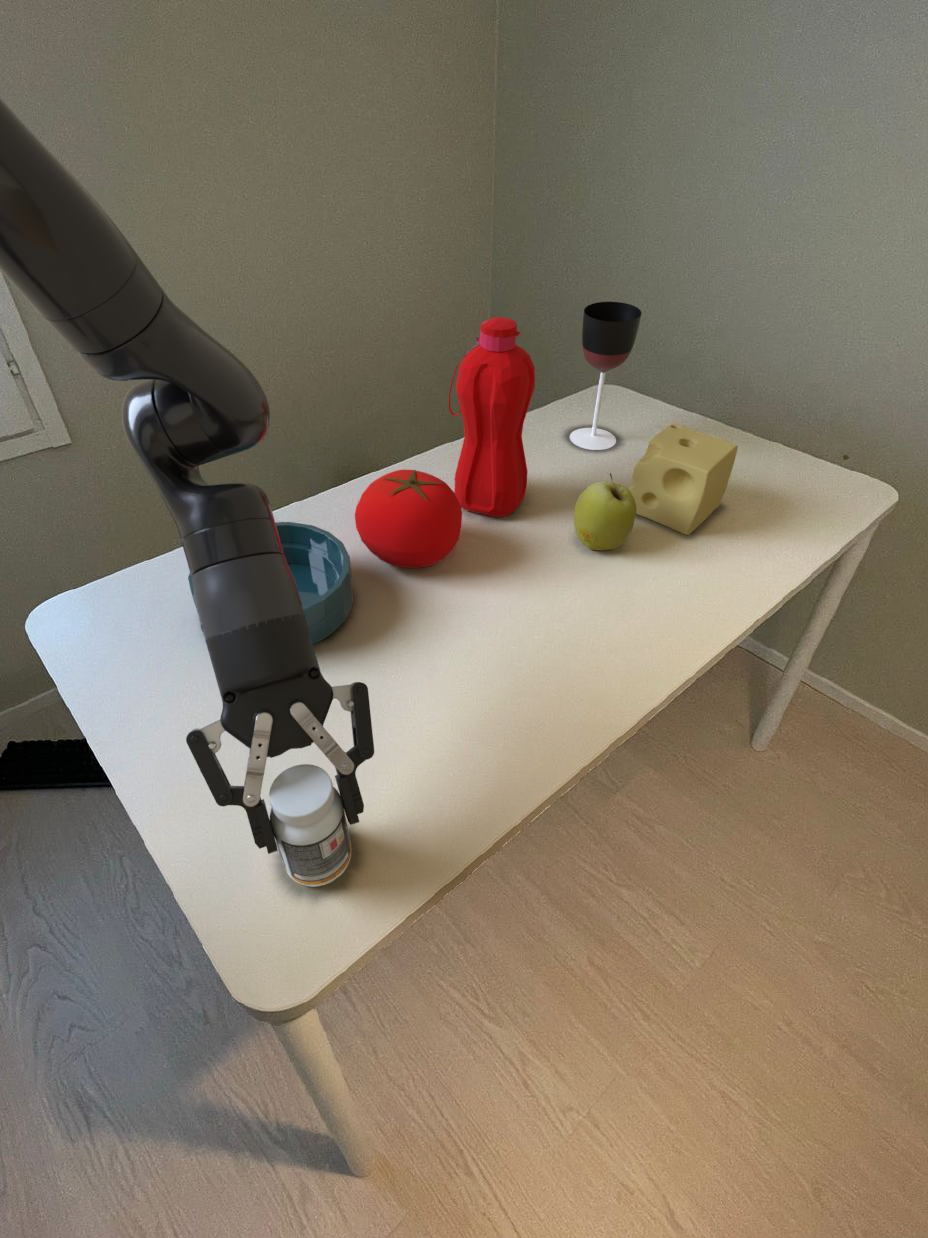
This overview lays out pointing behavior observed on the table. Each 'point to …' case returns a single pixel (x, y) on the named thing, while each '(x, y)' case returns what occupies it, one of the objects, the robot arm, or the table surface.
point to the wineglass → (605, 357)
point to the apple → (604, 515)
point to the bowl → (316, 575)
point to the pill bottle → (309, 825)
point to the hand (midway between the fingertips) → (314, 834)
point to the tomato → (409, 518)
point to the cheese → (682, 477)
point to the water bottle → (493, 420)
